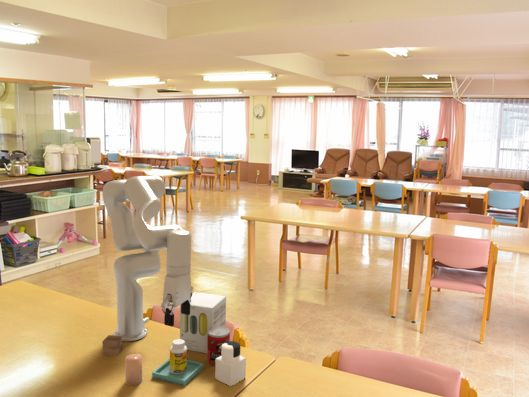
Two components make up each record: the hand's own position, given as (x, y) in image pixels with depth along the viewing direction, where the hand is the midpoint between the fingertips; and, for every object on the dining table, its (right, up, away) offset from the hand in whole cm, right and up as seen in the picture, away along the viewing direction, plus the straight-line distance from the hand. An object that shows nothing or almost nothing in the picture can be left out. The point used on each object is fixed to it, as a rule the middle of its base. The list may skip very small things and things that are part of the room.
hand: (177, 319), depth 153 cm
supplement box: (+5, -15, +24) cm, 29 cm away
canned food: (+12, -17, +11) cm, 24 cm away
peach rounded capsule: (-13, -19, -3) cm, 23 cm away
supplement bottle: (0, -18, +2) cm, 18 cm away
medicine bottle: (+17, -19, 0) cm, 26 cm away
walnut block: (-26, -16, +16) cm, 34 cm away
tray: (0, -18, +2) cm, 18 cm away
